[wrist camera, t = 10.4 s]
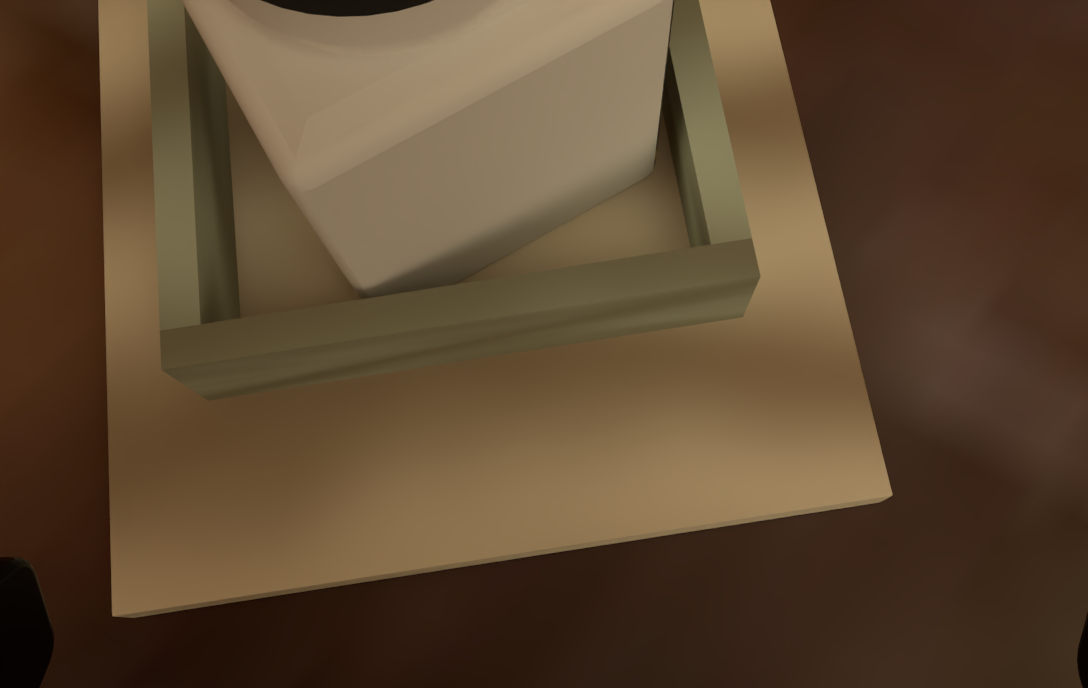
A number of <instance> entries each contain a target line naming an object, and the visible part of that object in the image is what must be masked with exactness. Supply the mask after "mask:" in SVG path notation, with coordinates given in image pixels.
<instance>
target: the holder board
mask: <svg viewBox="0 0 1088 688" xmlns="http://www.w3.org/2000/svg"><path fill="white" fill-rule="evenodd" d="M98 8H99V53H100V97H101V141H102V186H103V230H104V275H105V319H106V364H107V408H108V452H109V497H110V541H111V586H112V616H115V617H129V618H136V617H142V616H149V615H155V614H162V613H168V612H174V611H181V610H187V609H194V608H200V607H207V606H213V605H220V604H226V603H233V602H239V601H246V600H252V599H258V598H265V597H271V596H278V595H284V594H291V593H297V592H304V591H310V590H317V589H323V588H330V587H336V586H342V585H349V584H355V583H362V582H368V581H375V580H381V579H388V578H394V577H401V576H407V575H414V574H420V573H426V572H433V571H439V570H446V569H452V568H459V567H465V566H472V565H478V564H485V563H491V562H498V561H504V560H510V559H517V558H523V557H530V556H536V555H543V554H549V553H556V552H562V551H569V550H575V549H582V548H588V547H594V546H601V545H607V544H614V543H620V542H627V541H633V540H640V539H646V538H653V537H659V536H666V535H672V534H678V533H685V532H691V531H698V530H704V529H711V528H717V527H724V526H730V525H737V524H743V523H750V522H756V521H762V520H769V519H775V518H782V517H788V516H795V515H801V514H808V513H814V512H821V511H827V510H834V509H840V508H846V507H853V506H859V505H866V504H872V503H879V502H881V501H883V500H885V499H887V498H889V497H891V496H893V495H892V491H891V487H890V483H889V479H888V475H887V471H886V467H885V463H884V459H883V455H882V451H881V446H880V442H879V438H878V434H877V430H876V426H875V422H874V418H873V414H872V410H871V406H870V402H869V398H868V394H867V390H866V386H865V382H864V378H863V374H862V370H861V366H860V362H859V358H858V354H857V350H856V346H855V342H854V337H853V333H852V329H851V325H850V321H849V317H848V313H847V309H846V305H845V301H844V297H843V293H842V289H841V285H840V281H839V277H838V273H837V269H836V265H835V261H834V257H833V253H832V249H831V245H830V241H829V237H828V233H827V228H826V224H825V220H824V216H823V212H822V208H821V204H820V200H819V196H818V192H817V188H816V184H815V180H814V176H813V172H812V168H811V164H810V160H809V156H808V152H807V148H806V144H805V140H804V136H803V132H802V128H801V124H800V120H799V115H798V111H797V107H796V103H795V99H794V95H793V91H792V87H791V83H790V79H789V75H788V71H787V67H786V63H785V59H784V55H783V51H782V47H781V43H780V39H779V35H778V31H777V27H776V23H775V19H774V15H773V11H772V6H771V2H770V0H675V1H674V9H673V18H672V26H671V35H670V43H669V52H668V60H667V68H666V77H665V85H664V94H663V102H662V111H661V119H660V128H659V136H658V145H657V153H656V162H655V166H654V170H653V171H652V172H651V174H650V175H648V176H647V177H646V178H645V179H643V180H641V181H640V182H638V183H636V184H634V185H632V186H631V187H629V188H627V189H625V190H623V191H622V192H620V193H618V194H616V195H614V196H613V197H611V198H609V199H607V200H605V201H604V202H602V203H600V204H598V205H596V206H595V207H593V208H591V209H589V210H587V211H586V212H584V213H582V214H580V215H578V216H577V217H575V218H573V219H571V220H570V221H568V222H566V223H564V224H562V225H561V226H559V227H557V228H555V229H553V230H552V231H550V232H548V233H546V234H544V235H543V236H541V237H539V238H537V239H535V240H534V241H532V242H530V243H528V244H526V245H525V246H523V247H521V248H519V249H517V250H516V251H514V252H512V253H510V254H508V255H507V256H505V257H503V258H501V259H499V260H498V261H496V262H494V263H492V264H490V265H489V266H487V267H485V268H483V269H481V270H480V271H478V272H476V273H474V274H472V275H471V276H469V277H467V278H465V279H463V280H462V281H460V282H458V283H456V284H454V285H449V286H442V287H436V288H429V289H423V290H417V291H410V292H404V293H397V294H391V295H385V296H378V297H372V298H365V299H360V298H359V296H358V295H357V293H356V292H355V290H354V289H353V287H352V286H351V285H350V283H349V282H348V280H347V279H346V277H345V276H344V274H343V273H342V271H341V270H340V268H339V267H338V265H337V264H336V262H335V261H334V259H333V258H332V256H331V255H330V253H329V252H328V250H327V249H326V247H325V246H324V244H323V243H322V241H321V240H320V238H319V237H318V235H317V234H316V232H315V231H314V229H313V228H312V227H311V225H310V224H309V222H308V221H307V219H306V218H305V216H304V215H303V213H302V212H301V210H300V209H299V207H298V206H297V204H296V203H295V201H294V200H293V198H292V197H291V195H290V194H289V192H288V191H287V189H286V188H285V186H284V185H283V183H282V182H281V180H280V178H279V177H278V175H277V173H276V171H275V169H274V167H273V166H272V164H271V162H270V160H269V158H268V157H267V155H266V153H265V151H264V149H263V148H262V146H261V144H260V142H259V140H258V139H257V137H256V135H255V133H254V131H253V129H252V128H251V126H250V124H249V122H248V120H247V119H246V117H245V115H244V113H243V111H242V110H241V108H240V106H239V104H238V102H237V100H236V99H235V97H234V95H233V93H232V91H231V90H230V88H229V86H228V84H227V82H226V81H225V79H224V77H223V75H222V73H221V72H220V70H219V68H218V66H217V64H216V62H215V61H214V59H213V57H212V55H211V53H210V52H209V50H208V48H207V46H206V44H205V43H204V41H203V39H202V37H201V35H200V33H199V32H198V30H197V28H196V26H195V24H194V23H193V21H192V19H191V17H190V15H189V14H188V12H187V10H186V8H185V6H184V5H183V3H182V1H181V0H98Z"/></svg>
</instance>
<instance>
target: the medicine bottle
mask: <svg viewBox="0 0 1088 688" xmlns="http://www.w3.org/2000/svg"><path fill="white" fill-rule="evenodd" d="M181 1H182V3H183V5H184V6H185V8H186V10H187V12H188V14H189V15H190V17H191V19H192V21H193V23H194V24H195V26H196V28H197V30H198V32H199V33H200V35H201V37H202V39H203V41H204V43H205V44H206V46H207V48H208V50H209V52H210V53H211V55H212V57H213V59H214V61H215V62H216V64H217V66H218V68H219V70H220V72H221V73H222V75H223V77H224V79H225V81H226V82H227V84H228V86H229V88H230V90H231V91H232V93H233V95H234V97H235V99H236V100H237V102H238V104H239V106H240V108H241V110H242V111H243V113H244V115H245V117H246V119H247V120H248V122H249V124H250V126H251V128H252V129H253V131H254V133H255V135H256V137H257V139H258V140H259V142H260V144H261V146H262V148H263V149H264V151H265V153H266V155H267V157H268V158H269V160H270V162H271V164H272V166H273V167H274V169H275V171H276V173H277V175H278V177H279V178H280V180H281V182H282V183H283V185H284V186H285V188H286V189H287V191H288V192H289V194H290V195H291V197H292V198H293V200H294V201H295V203H296V204H297V206H298V207H299V209H300V210H301V212H302V213H303V215H304V216H305V218H306V219H307V221H308V222H309V224H310V225H311V227H312V228H313V229H314V231H315V232H316V234H317V235H318V237H319V238H320V240H321V241H322V243H323V244H324V246H325V247H326V249H327V250H328V252H329V253H330V255H331V256H332V258H333V259H334V261H335V262H336V264H337V265H338V267H339V268H340V270H341V271H342V273H343V274H344V276H345V277H346V279H347V280H348V282H349V283H350V285H351V286H352V287H353V289H354V290H355V292H356V293H357V295H358V296H359V298H360V299H365V298H372V297H378V296H385V295H391V294H397V293H404V292H410V291H417V290H423V289H429V288H436V287H442V286H449V285H454V284H456V283H458V282H460V281H462V280H463V279H465V278H467V277H469V276H471V275H472V274H474V273H476V272H478V271H480V270H481V269H483V268H485V267H487V266H489V265H490V264H492V263H494V262H496V261H498V260H499V259H501V258H503V257H505V256H507V255H508V254H510V253H512V252H514V251H516V250H517V249H519V248H521V247H523V246H525V245H526V244H528V243H530V242H532V241H534V240H535V239H537V238H539V237H541V236H543V235H544V234H546V233H548V232H550V231H552V230H553V229H555V228H557V227H559V226H561V225H562V224H564V223H566V222H568V221H570V220H571V219H573V218H575V217H577V216H578V215H580V214H582V213H584V212H586V211H587V210H589V209H591V208H593V207H595V206H596V205H598V204H600V203H602V202H604V201H605V200H607V199H609V198H611V197H613V196H614V195H616V194H618V193H620V192H622V191H623V190H625V189H627V188H629V187H631V186H632V185H634V184H636V183H638V182H640V181H641V180H643V179H645V178H646V177H647V176H648V175H650V174H651V172H652V171H653V170H654V166H655V162H656V153H657V145H658V136H659V128H660V119H661V111H662V102H663V94H664V85H665V77H666V68H667V60H668V52H669V43H670V35H671V26H672V18H673V9H674V1H675V0H181Z"/></svg>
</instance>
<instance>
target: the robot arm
mask: <svg viewBox="0 0 1088 688" xmlns="http://www.w3.org/2000/svg"><path fill="white" fill-rule="evenodd" d="M53 646H54V633H53V627H52V624H51V621H50V617H49V614H48V611H47V607H46V604H45V601H44V598H43V594H42V591H41V588H40V584H39V581H38V578H37V575H36V572H35V569H34V567H33V566H32V565H31V563H30V562H29V561H27V560H26V559H23V558H20V557H0V688H39V687H40V685H41V682H42V680H43V677H44V675H45V672H46V670H47V667H48V665H49V662H50V659H51V656H52V652H53ZM1077 663H1078V671H1079V677H1080V680H1081V683H1082V686H1083V688H1088V613H1087V616H1086V620H1085V624H1084V628H1083V632H1082V635H1081V639H1080V643H1079V647H1078V655H1077Z"/></svg>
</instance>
